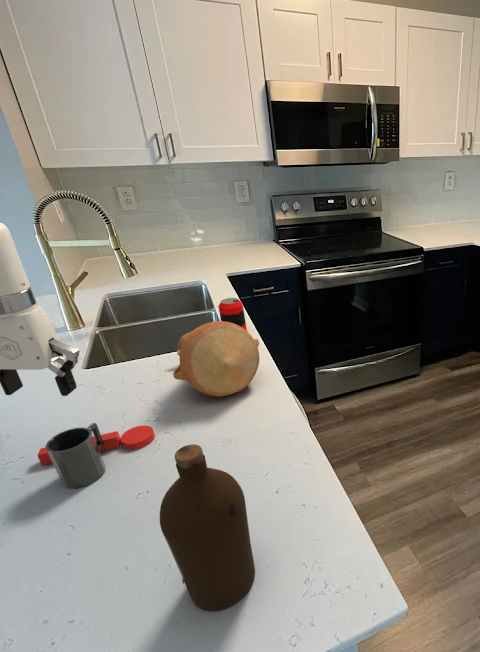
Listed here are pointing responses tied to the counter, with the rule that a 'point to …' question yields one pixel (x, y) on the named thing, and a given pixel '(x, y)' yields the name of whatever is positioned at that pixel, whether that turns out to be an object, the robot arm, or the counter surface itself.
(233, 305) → the soda can
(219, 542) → the olive oil
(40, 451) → the spoon
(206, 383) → the jug
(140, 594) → the counter surface
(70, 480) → the mug
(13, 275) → the robot arm
